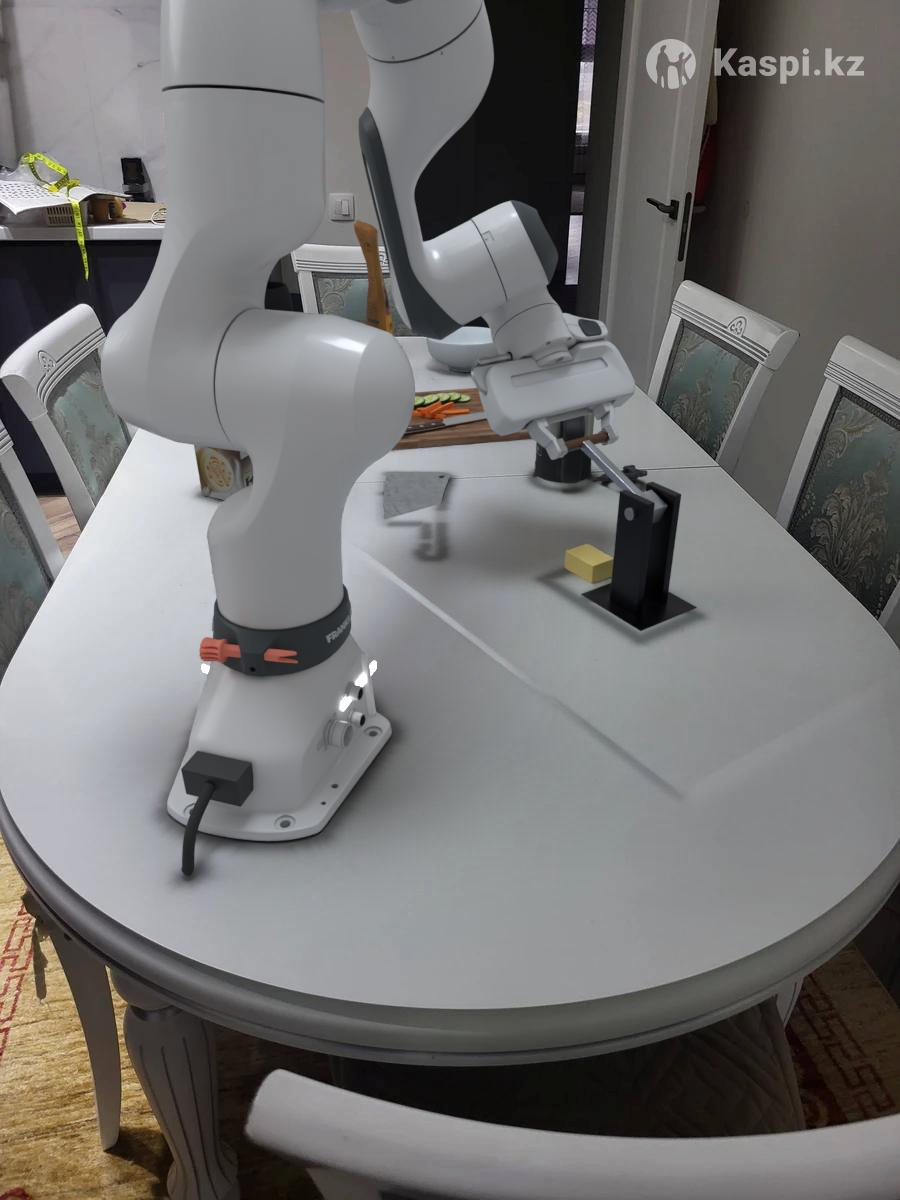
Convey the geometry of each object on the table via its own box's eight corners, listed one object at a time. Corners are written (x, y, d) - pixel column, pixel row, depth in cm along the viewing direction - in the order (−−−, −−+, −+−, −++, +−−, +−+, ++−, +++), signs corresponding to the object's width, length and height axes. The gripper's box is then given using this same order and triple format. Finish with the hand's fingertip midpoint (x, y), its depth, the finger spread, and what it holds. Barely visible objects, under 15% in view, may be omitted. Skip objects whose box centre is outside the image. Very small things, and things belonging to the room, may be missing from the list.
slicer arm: (555, 453, 103) (561, 436, 102) (597, 442, 106) (604, 425, 105) (631, 531, 96) (639, 515, 95) (674, 516, 99) (682, 500, 98)
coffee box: (274, 491, 135) (262, 387, 127) (247, 506, 131) (233, 399, 123) (227, 481, 139) (212, 379, 131) (199, 495, 134) (182, 391, 126)
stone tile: (369, 558, 116) (446, 557, 116) (369, 554, 116) (446, 554, 115) (386, 473, 141) (449, 473, 141) (386, 470, 141) (449, 470, 141)
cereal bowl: (513, 360, 198) (514, 328, 195) (493, 381, 185) (494, 346, 181) (441, 354, 203) (440, 323, 199) (416, 374, 189) (415, 341, 186)
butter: (564, 569, 111) (565, 550, 110) (585, 561, 113) (587, 543, 111) (591, 585, 107) (592, 566, 106) (612, 577, 109) (614, 558, 108)
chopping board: (528, 390, 179) (529, 375, 177) (572, 435, 156) (573, 418, 154) (303, 407, 171) (301, 391, 169) (314, 456, 148) (312, 438, 146)
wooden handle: (369, 364, 197) (362, 228, 183) (360, 343, 213) (352, 216, 199) (399, 362, 198) (394, 226, 184) (388, 341, 214) (382, 215, 200)
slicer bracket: (579, 602, 106) (588, 487, 98) (635, 581, 110) (647, 469, 103) (639, 640, 99) (654, 518, 91) (696, 616, 103) (714, 498, 95)
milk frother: (523, 471, 141) (526, 379, 134) (611, 459, 146) (619, 369, 138) (561, 506, 130) (567, 407, 122) (656, 491, 134) (668, 395, 127)
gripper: (476, 345, 98) (529, 455, 96) (614, 320, 108) (664, 419, 106) (454, 376, 104) (503, 481, 101) (587, 349, 113) (634, 444, 111)
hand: (586, 449), depth 104 cm, fingers closed on slicer arm, 6 cm apart
